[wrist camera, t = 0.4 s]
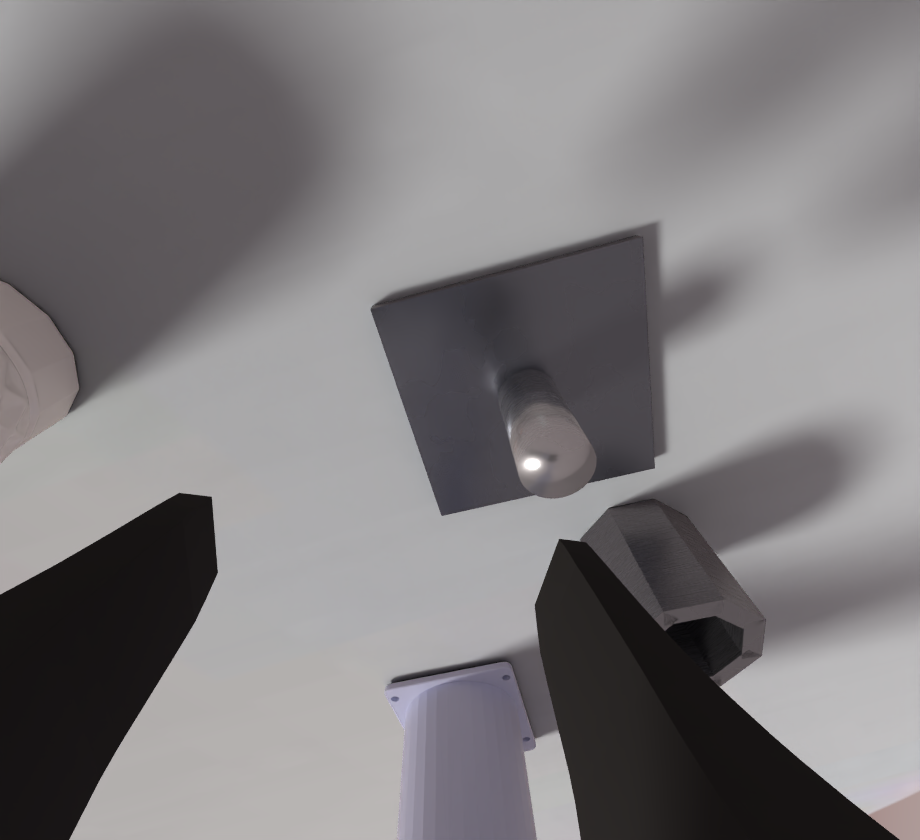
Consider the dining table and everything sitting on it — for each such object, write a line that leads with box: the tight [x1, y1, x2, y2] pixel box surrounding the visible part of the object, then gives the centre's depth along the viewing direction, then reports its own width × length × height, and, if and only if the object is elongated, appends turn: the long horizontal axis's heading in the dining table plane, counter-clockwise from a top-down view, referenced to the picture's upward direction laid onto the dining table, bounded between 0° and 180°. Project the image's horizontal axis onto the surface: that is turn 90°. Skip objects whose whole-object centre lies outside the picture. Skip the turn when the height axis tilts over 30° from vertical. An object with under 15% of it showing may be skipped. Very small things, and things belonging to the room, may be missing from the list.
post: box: [371, 236, 655, 516], centre depth 16 cm, size 10×10×6 cm
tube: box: [580, 499, 766, 686], centre depth 20 cm, size 5×5×6 cm
